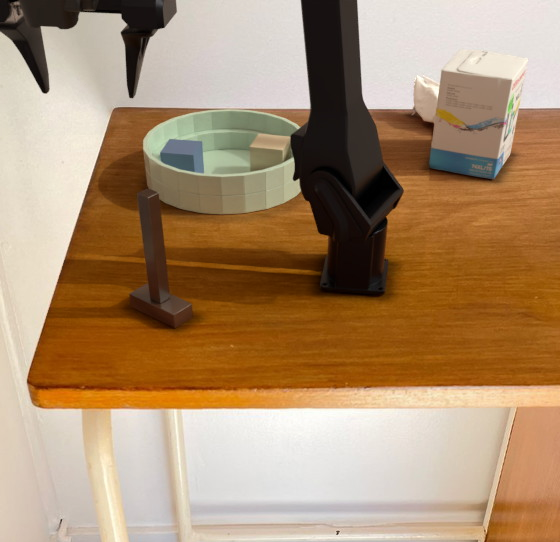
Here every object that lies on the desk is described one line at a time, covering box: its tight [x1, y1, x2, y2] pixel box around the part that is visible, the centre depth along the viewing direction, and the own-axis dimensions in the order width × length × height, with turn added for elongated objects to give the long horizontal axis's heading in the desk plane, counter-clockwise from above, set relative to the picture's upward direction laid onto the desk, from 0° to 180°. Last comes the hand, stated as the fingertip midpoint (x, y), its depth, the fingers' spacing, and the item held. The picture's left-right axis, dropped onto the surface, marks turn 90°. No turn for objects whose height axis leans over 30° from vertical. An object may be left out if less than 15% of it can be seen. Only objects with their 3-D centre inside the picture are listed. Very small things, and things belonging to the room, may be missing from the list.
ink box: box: [428, 48, 529, 180], centre depth 102 cm, size 8×8×12 cm
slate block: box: [160, 139, 204, 173], centre depth 100 cm, size 4×4×4 cm
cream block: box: [250, 134, 291, 172], centre depth 101 cm, size 4×4×4 cm
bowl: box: [142, 108, 301, 215], centre depth 101 cm, size 19×19×5 cm
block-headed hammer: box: [128, 187, 194, 329], centre depth 78 cm, size 6×2×12 cm, turn 51°
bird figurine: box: [411, 74, 440, 124], centre depth 113 cm, size 5×7×10 cm
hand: (89, 94), depth 87 cm, fingers open, 9 cm apart
